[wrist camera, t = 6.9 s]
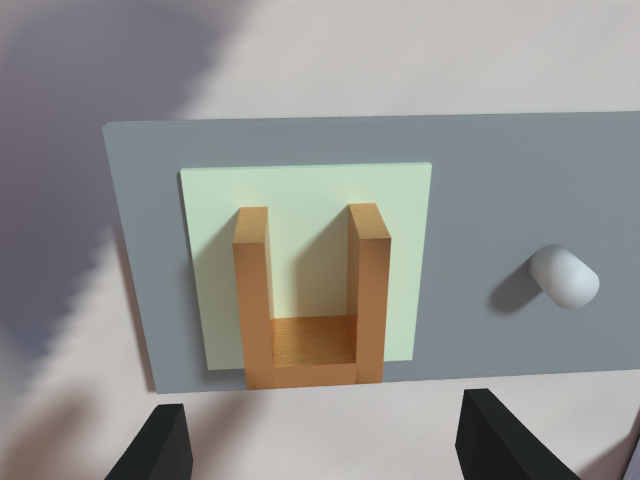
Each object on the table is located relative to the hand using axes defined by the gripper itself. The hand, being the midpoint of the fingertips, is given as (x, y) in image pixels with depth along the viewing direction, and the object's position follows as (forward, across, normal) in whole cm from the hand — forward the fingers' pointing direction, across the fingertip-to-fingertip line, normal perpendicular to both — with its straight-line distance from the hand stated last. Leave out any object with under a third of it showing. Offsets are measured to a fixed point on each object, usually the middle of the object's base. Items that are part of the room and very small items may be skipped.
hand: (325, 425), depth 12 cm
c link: (+8, 0, 0) cm, 8 cm away
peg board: (+9, -5, 0) cm, 10 cm away
